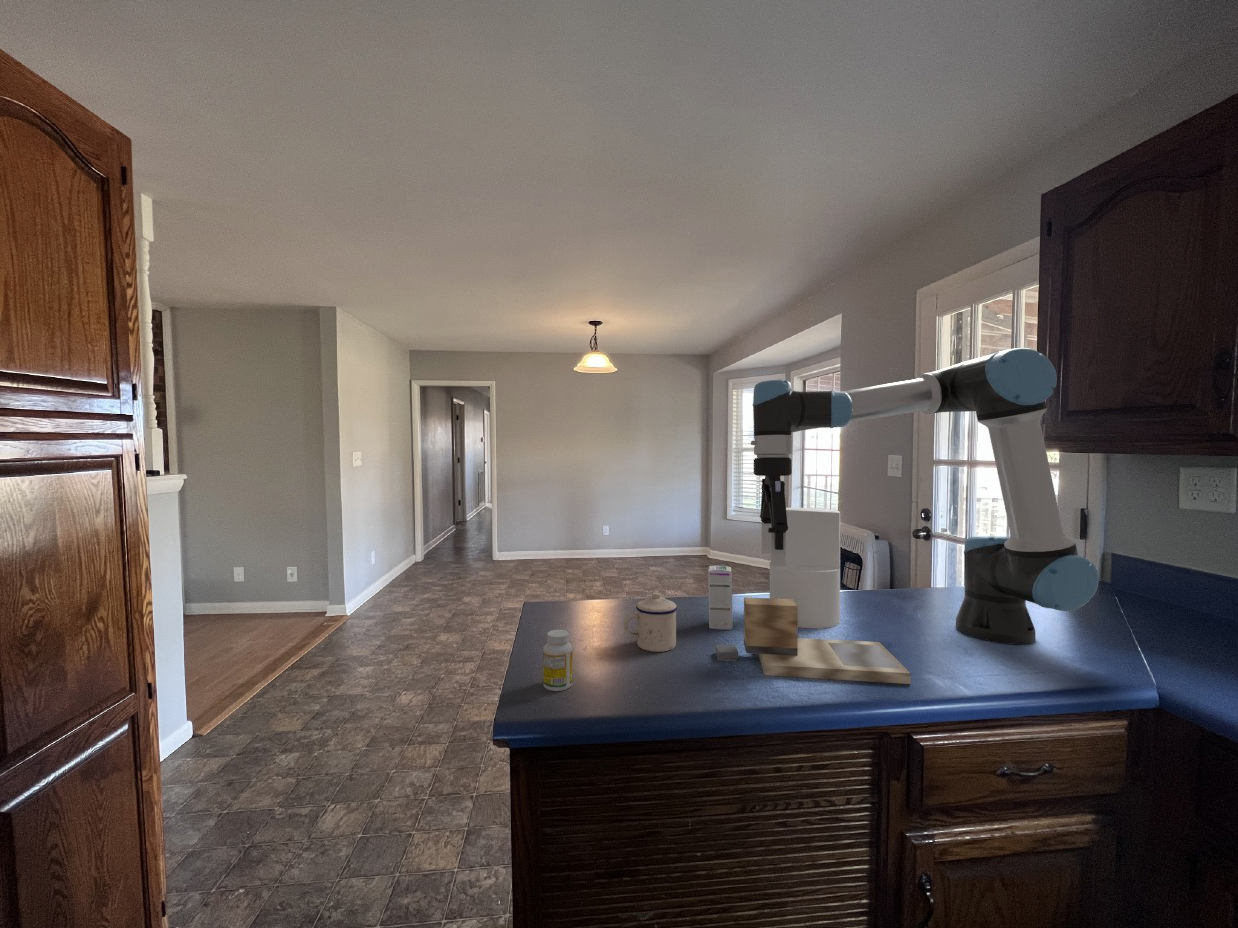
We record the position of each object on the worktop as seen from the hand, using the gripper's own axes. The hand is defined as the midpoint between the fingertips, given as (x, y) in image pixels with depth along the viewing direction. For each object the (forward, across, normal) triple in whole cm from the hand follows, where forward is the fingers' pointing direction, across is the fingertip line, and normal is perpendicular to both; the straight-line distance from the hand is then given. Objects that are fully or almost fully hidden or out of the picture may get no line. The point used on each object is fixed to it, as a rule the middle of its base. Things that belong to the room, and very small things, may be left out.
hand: (772, 559), depth 104 cm
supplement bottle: (+21, +18, -41) cm, 49 cm away
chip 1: (+20, 0, -9) cm, 22 cm away
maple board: (+21, 0, +10) cm, 23 cm away
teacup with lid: (+21, -4, -26) cm, 33 cm away
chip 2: (+20, 0, -10) cm, 22 cm away
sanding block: (+19, 0, -1) cm, 19 cm away
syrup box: (+21, -20, -10) cm, 30 cm away
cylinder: (+21, -30, +12) cm, 38 cm away
